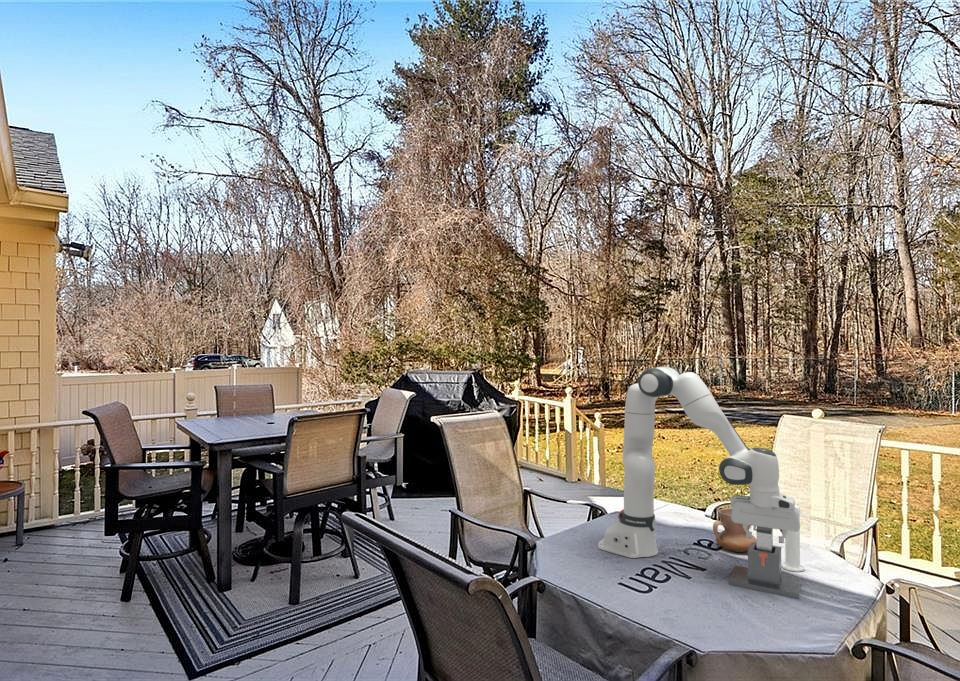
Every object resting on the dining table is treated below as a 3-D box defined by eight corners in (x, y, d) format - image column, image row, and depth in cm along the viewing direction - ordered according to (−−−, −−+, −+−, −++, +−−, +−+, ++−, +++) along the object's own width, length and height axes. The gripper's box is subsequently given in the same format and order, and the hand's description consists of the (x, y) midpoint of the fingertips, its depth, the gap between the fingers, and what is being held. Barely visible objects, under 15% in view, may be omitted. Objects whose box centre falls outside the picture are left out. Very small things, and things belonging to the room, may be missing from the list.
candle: (803, 566, 201) (802, 495, 201) (805, 573, 195) (804, 500, 195) (780, 562, 204) (780, 493, 204) (781, 570, 198) (781, 498, 198)
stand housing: (728, 584, 186) (728, 549, 186) (735, 569, 198) (734, 536, 198) (798, 598, 176) (798, 561, 176) (800, 582, 188) (800, 547, 188)
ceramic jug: (746, 541, 227) (745, 505, 227) (769, 554, 212) (767, 515, 212) (703, 544, 225) (702, 508, 225) (723, 557, 210) (722, 518, 210)
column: (756, 578, 186) (755, 529, 186) (757, 573, 190) (757, 525, 190) (772, 581, 184) (772, 532, 184) (773, 576, 188) (773, 527, 188)
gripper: (728, 496, 190) (729, 537, 190) (799, 504, 179) (799, 548, 179) (731, 491, 195) (732, 532, 195) (799, 499, 184) (800, 542, 184)
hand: (765, 540), depth 187 cm, fingers open, 8 cm apart
